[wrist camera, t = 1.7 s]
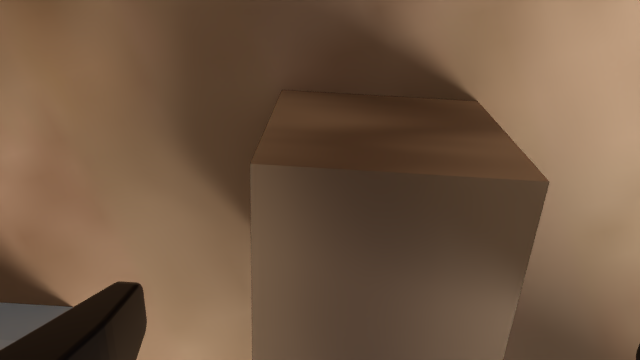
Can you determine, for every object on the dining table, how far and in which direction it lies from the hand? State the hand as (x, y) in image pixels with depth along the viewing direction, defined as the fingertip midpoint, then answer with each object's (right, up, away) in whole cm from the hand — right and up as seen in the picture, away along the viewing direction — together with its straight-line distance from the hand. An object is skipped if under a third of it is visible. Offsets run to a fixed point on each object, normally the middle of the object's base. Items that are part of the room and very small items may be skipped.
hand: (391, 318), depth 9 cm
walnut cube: (0, +2, +5) cm, 6 cm away
